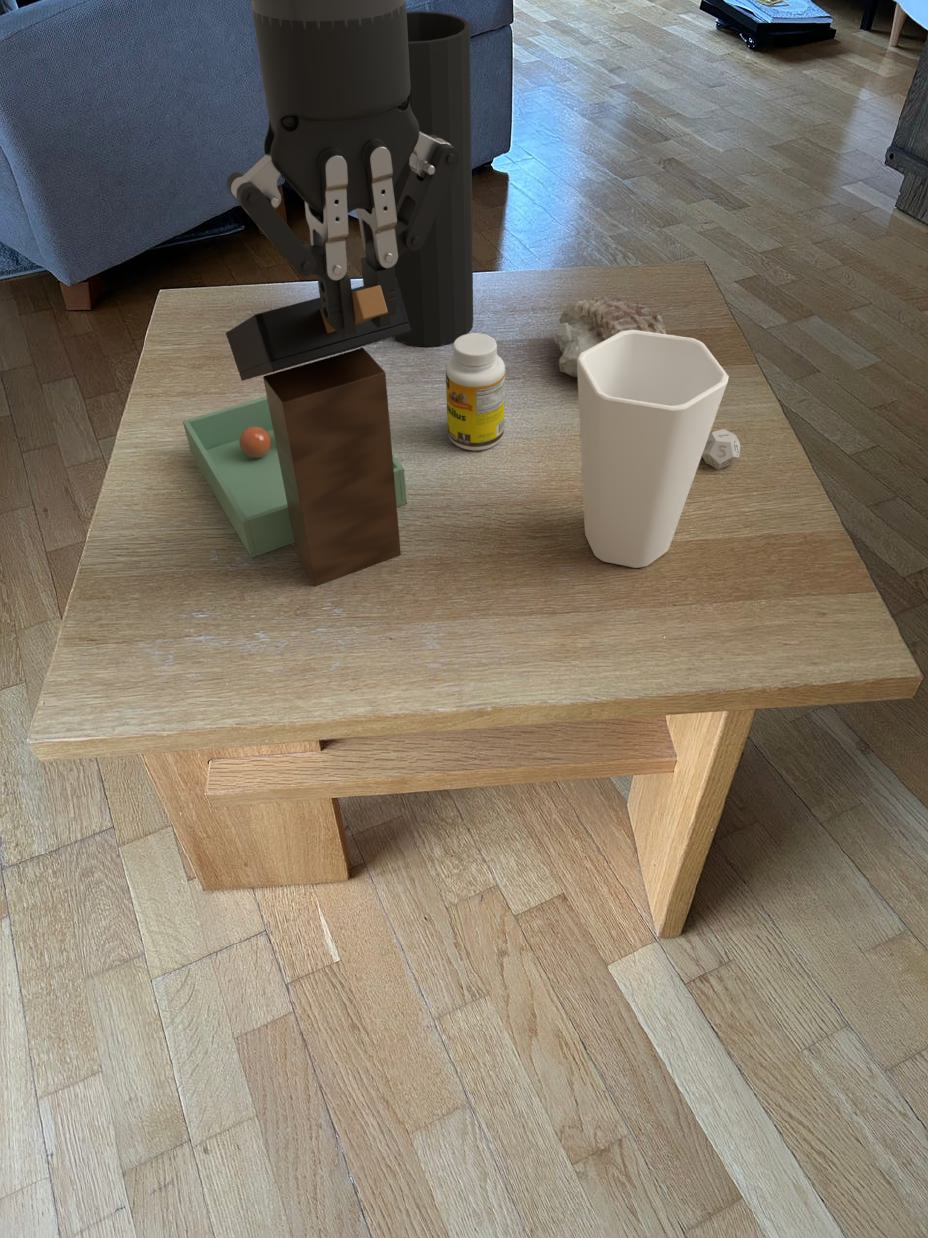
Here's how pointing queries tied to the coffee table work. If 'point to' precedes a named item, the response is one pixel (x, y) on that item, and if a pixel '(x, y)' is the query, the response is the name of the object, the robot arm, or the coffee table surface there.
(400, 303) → the pan
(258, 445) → the terracotta ball
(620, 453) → the cup
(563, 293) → the coffee table surface
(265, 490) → the tray
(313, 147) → the robot arm
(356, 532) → the block
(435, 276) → the vase
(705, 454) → the game die
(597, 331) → the seashell
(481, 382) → the supplement bottle
